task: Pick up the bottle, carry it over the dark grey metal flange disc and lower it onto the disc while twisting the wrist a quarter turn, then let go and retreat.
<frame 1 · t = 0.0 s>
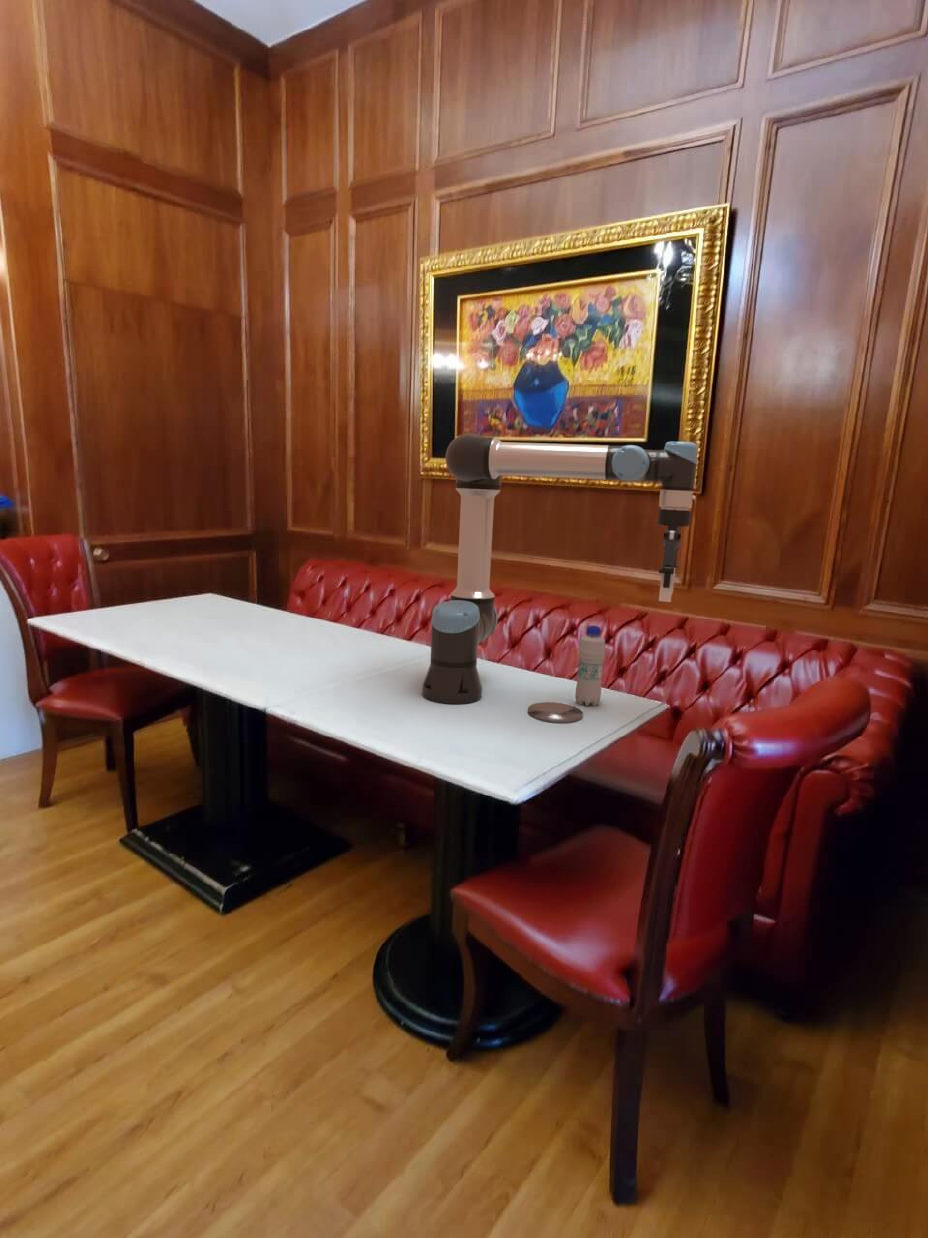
hand: (665, 597, 170), 28 cm above the table, fingers open, 13 cm apart
bottle: (587, 704, 176), on the table
flange disc: (554, 714, 167), on the table
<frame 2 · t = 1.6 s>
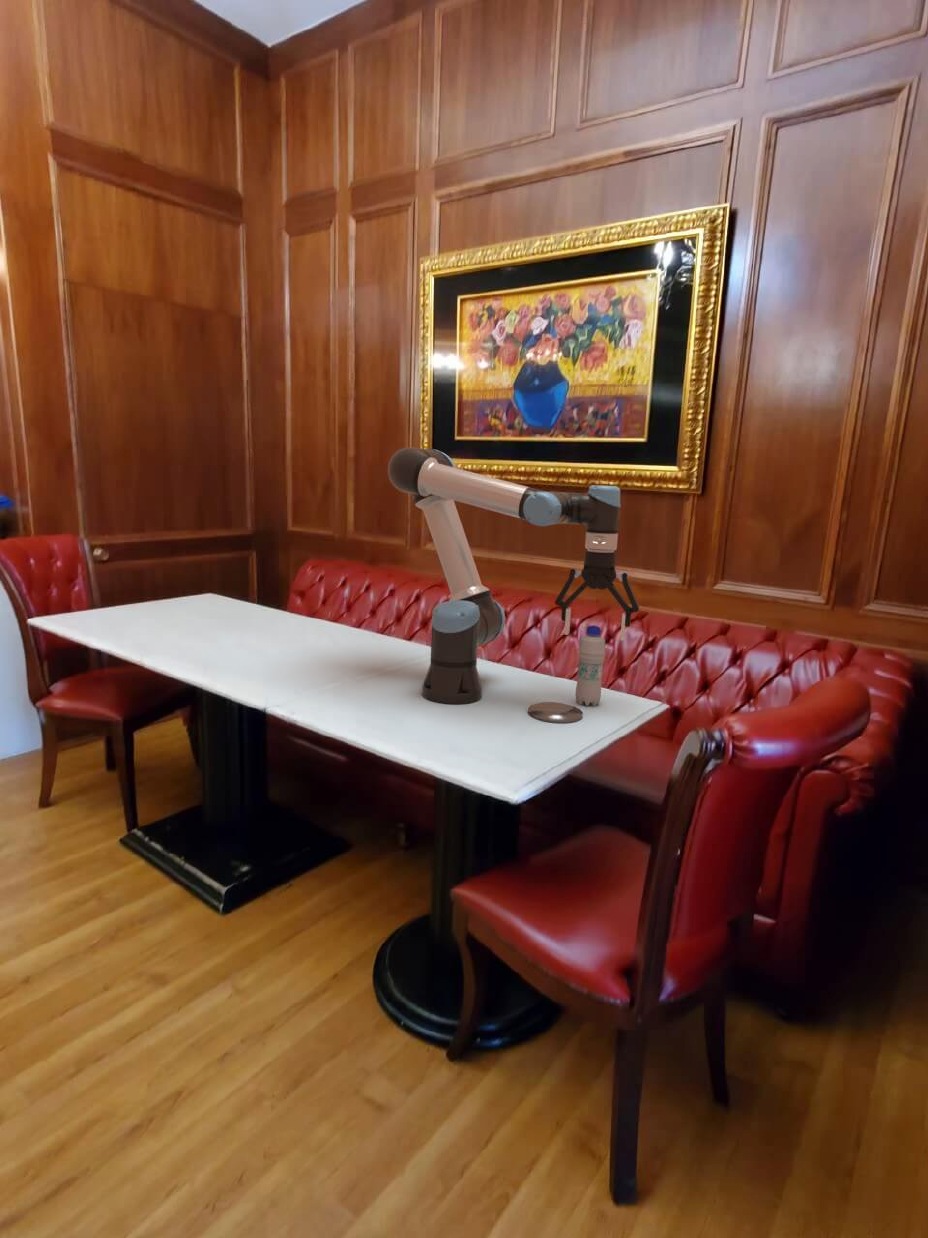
hand: (594, 636, 173), 17 cm above the table, fingers open, 13 cm apart
nothing on the table moved.
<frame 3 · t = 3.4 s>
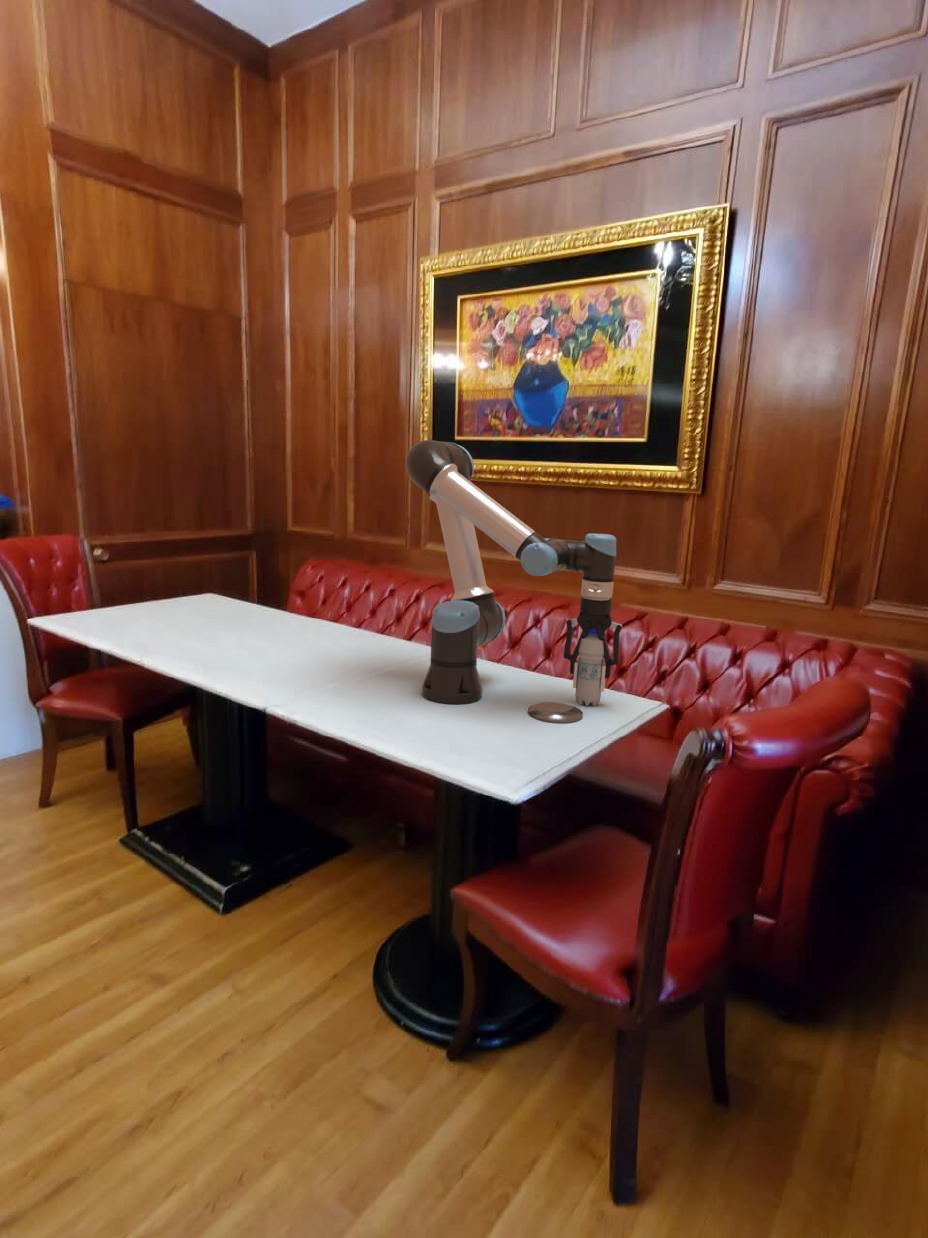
hand: (588, 688, 175), 4 cm above the table, fingers closed on bottle, 6 cm apart
bottle: (587, 704, 176), on the table, touching gripper
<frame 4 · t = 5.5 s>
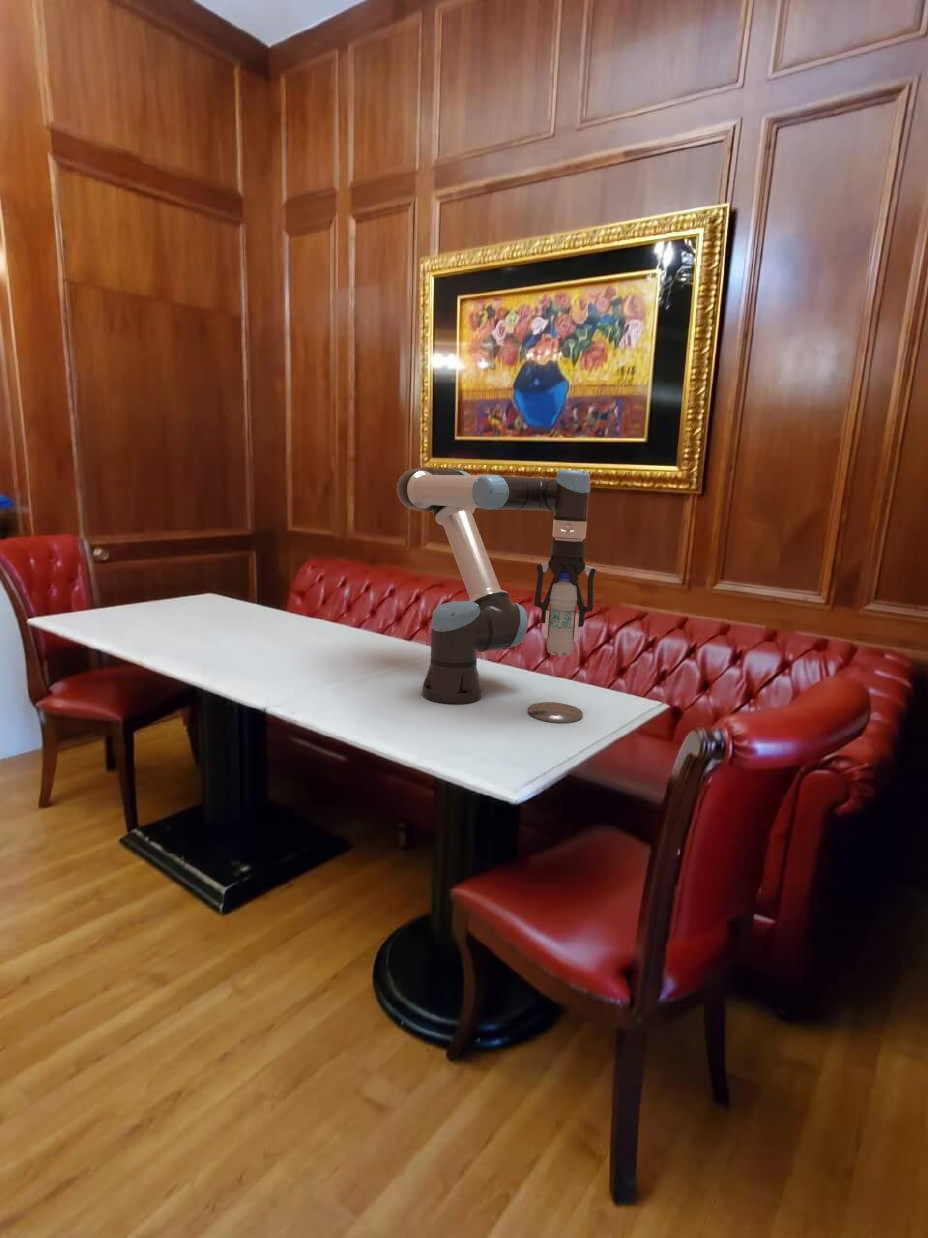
hand: (561, 638, 163), 18 cm above the table, fingers closed on bottle, 6 cm apart
bottle: (559, 655, 164), point 14 cm above the table, touching gripper
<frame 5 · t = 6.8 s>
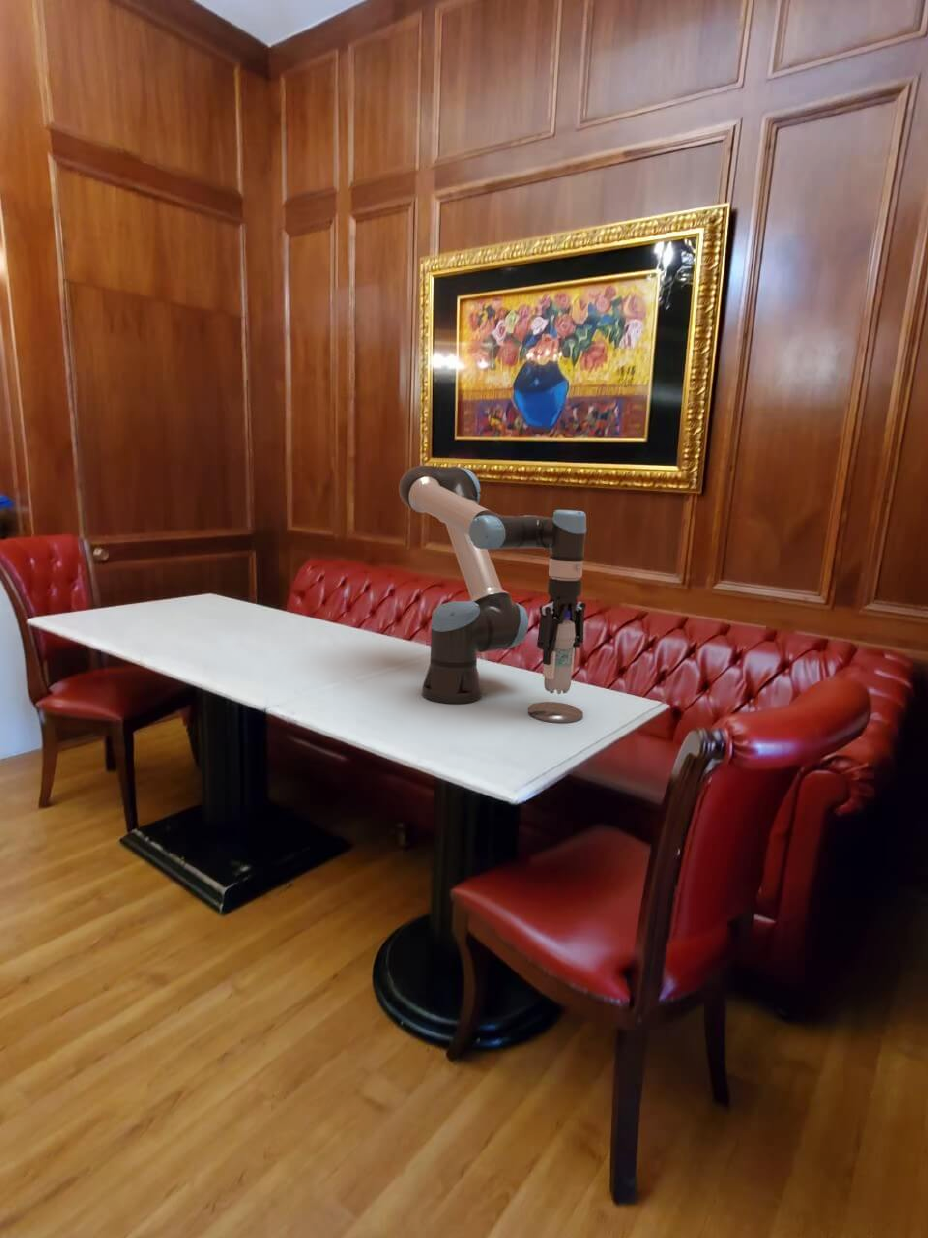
hand: (558, 675, 165), 10 cm above the table, fingers closed on bottle, 6 cm apart
bottle: (557, 692, 166), point 5 cm above the table, touching gripper
when the fingers open (6 cm above the table, at t = 7.8 s): bottle drops 1 cm, resting on flange disc.
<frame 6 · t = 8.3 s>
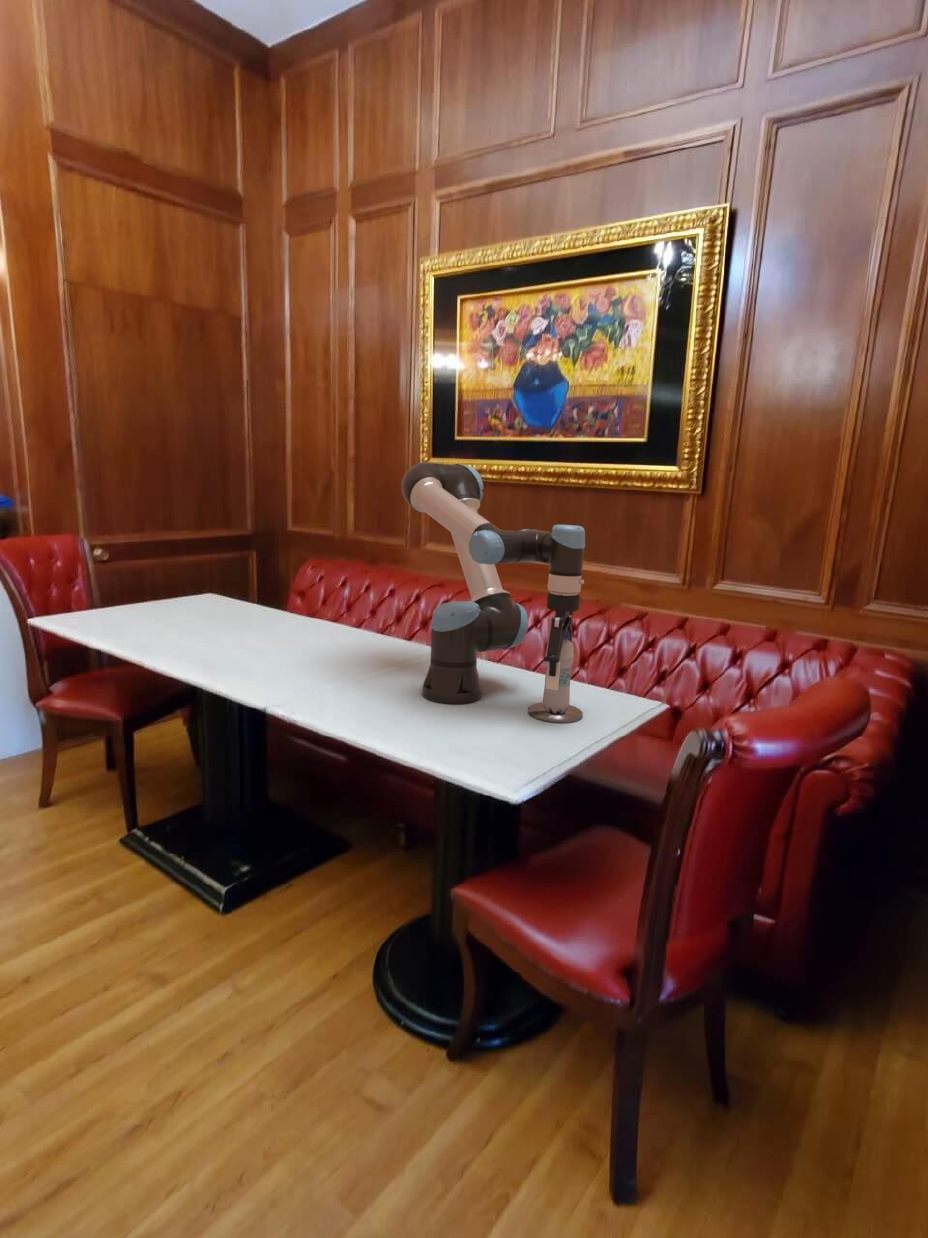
hand: (557, 681, 165), 8 cm above the table, fingers open, 13 cm apart
bottle: (555, 711, 167), point 1 cm above the table, touching flange disc
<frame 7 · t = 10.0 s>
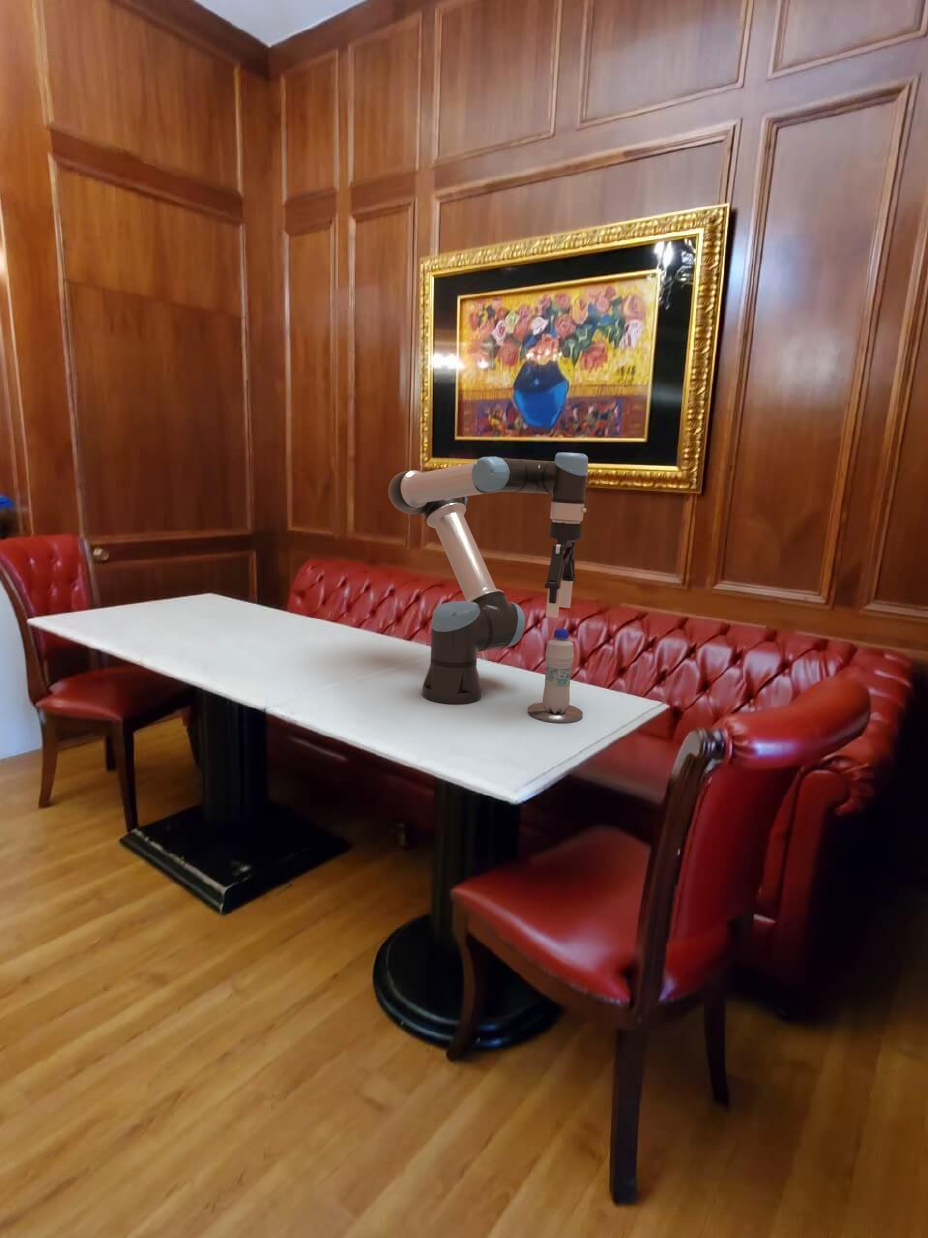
hand: (558, 612, 165), 24 cm above the table, fingers open, 13 cm apart
nothing on the table moved.
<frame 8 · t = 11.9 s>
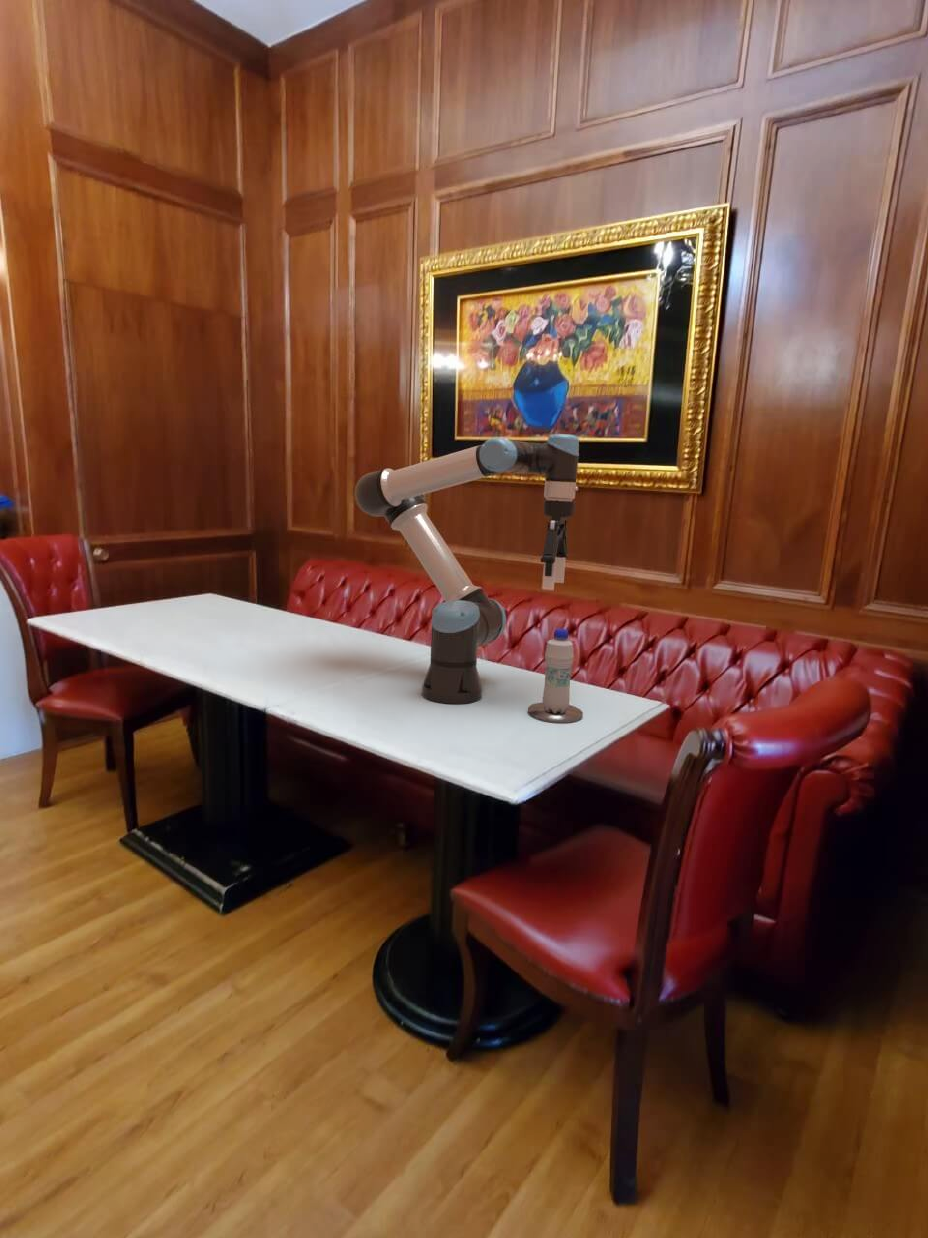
hand: (553, 586, 175), 29 cm above the table, fingers open, 13 cm apart
nothing on the table moved.
at the end: bottle 0.0 cm from the flange disc (horizontally); bottle tilted 0°; the gripper is holding nothing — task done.
